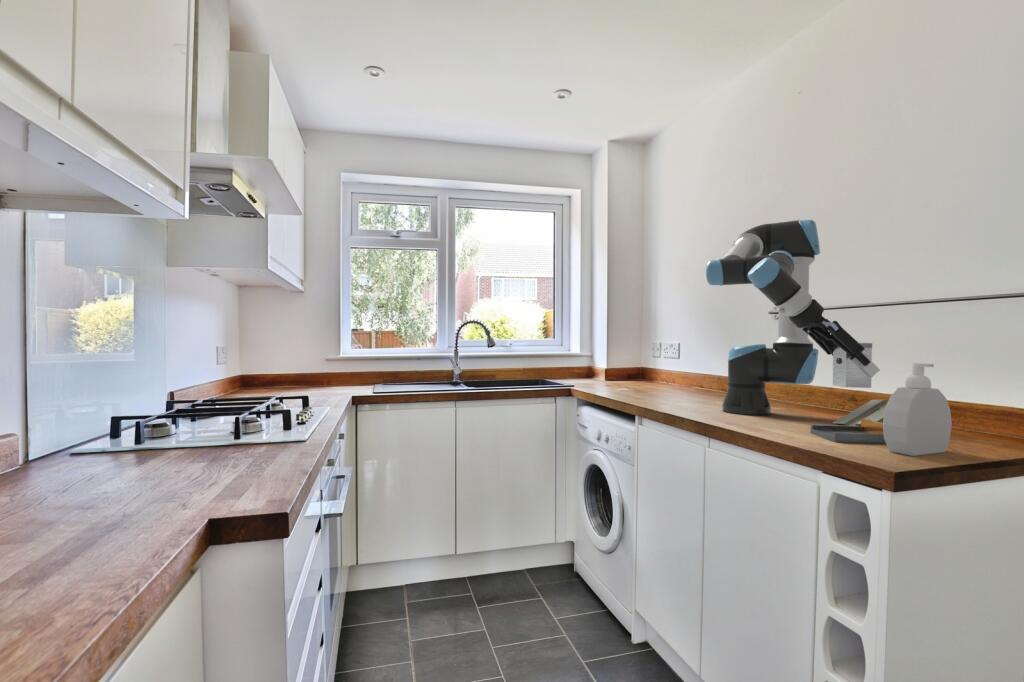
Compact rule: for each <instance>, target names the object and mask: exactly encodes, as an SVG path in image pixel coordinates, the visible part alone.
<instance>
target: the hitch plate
mask: <svg viewBox="0 0 1024 682" xmlns="http://www.w3.org/2000/svg"><path fill="white" fill-rule="evenodd" d="M810 434H813V435H815V436H818V437H821V438H824V439H825V440H828V441H832V442H834V443H849V444H850V443H856V444H857V443H859V444H886V442H885V439H884V431H883V423H881V422H877V421H873V420H869V419H861V424H860V425H859V426H845V425H842V424H840V425H835V424H833V425H832V424H810ZM886 445H887V444H886Z"/></svg>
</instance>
